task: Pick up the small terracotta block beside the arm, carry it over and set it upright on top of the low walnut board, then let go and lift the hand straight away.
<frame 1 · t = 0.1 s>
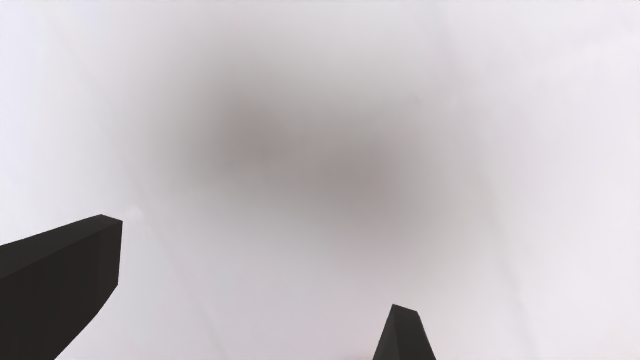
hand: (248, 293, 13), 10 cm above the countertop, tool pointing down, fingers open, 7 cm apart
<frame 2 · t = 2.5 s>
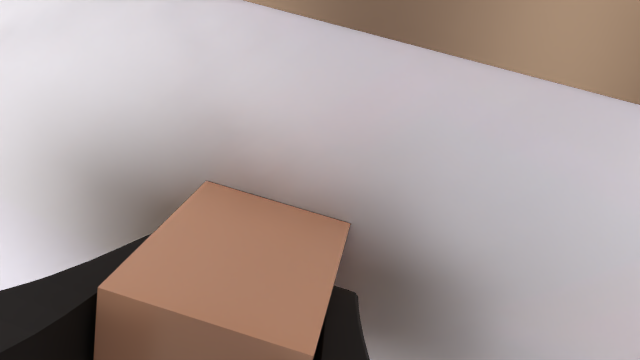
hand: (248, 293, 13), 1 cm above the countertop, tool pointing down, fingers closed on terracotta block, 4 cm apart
terracotta block: (263, 263, 14), on the countertop, touching gripper
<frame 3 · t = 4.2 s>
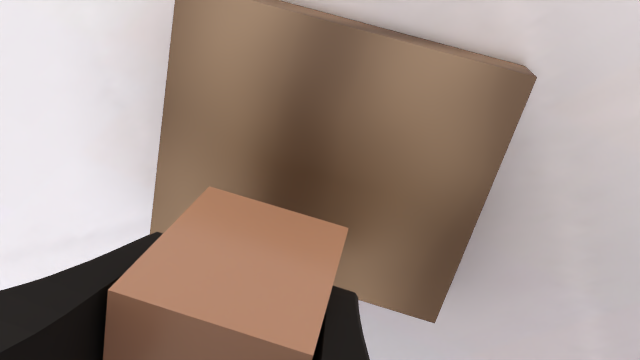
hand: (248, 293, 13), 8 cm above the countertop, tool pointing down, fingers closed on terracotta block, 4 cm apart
walnut board: (328, 145, 21), on the countertop
terracotta block: (264, 266, 15), point 7 cm above the countertop, touching gripper
when the fingers open (4 cm above the countertop, at t = 6.1 s): terracotta block stays where it is, resting on walnut board.
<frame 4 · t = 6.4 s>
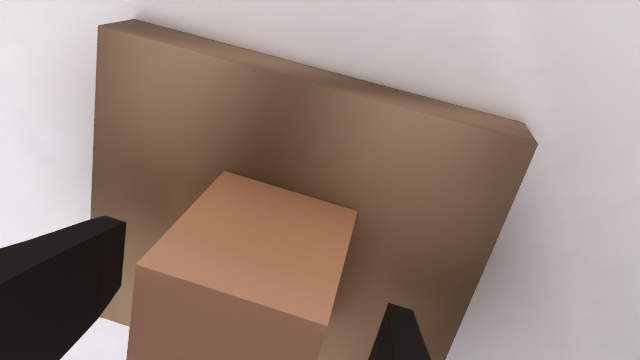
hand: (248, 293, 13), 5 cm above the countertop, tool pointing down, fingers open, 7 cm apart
walnut board: (294, 207, 18), on the countertop, touching terracotta block
terracotta block: (276, 247, 15), point 2 cm above the countertop, touching walnut board
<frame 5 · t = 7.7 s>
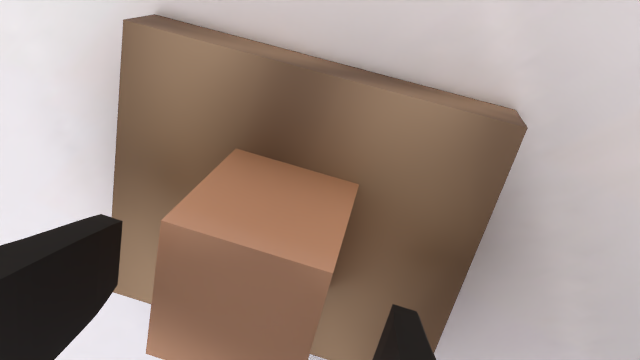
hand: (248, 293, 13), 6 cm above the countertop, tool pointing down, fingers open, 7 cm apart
walnut board: (301, 191, 19), on the countertop, touching terracotta block
terracotta block: (284, 221, 17), point 2 cm above the countertop, touching walnut board
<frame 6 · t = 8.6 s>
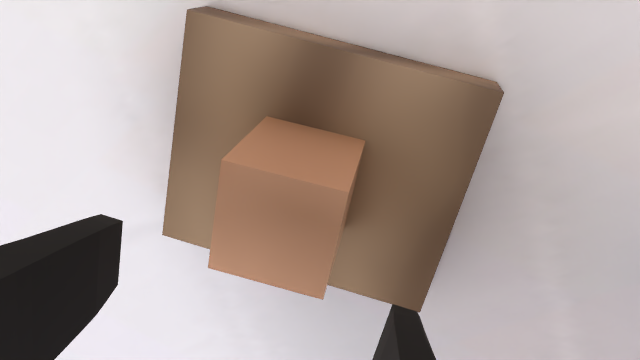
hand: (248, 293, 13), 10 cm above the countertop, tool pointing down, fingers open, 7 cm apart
walnut board: (323, 152, 23), on the countertop, touching terracotta block
terracotta block: (306, 174, 21), point 2 cm above the countertop, touching walnut board
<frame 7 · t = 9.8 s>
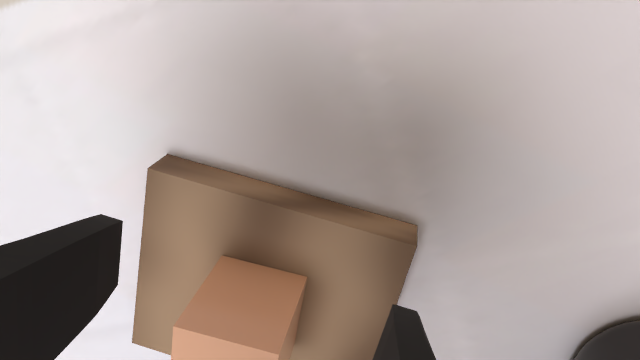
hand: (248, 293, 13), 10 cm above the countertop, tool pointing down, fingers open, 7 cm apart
walnut board: (273, 270, 26), on the countertop, touching terracotta block
terracotta block: (259, 301, 24), point 2 cm above the countertop, touching walnut board
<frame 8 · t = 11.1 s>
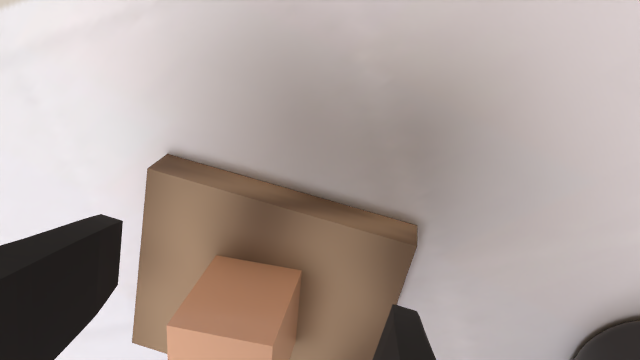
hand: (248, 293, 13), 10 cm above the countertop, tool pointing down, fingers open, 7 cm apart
walnut board: (273, 270, 26), on the countertop
terracotta block: (256, 299, 24), point 2 cm above the countertop
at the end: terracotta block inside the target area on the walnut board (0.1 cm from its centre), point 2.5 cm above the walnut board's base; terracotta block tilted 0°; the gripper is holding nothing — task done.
